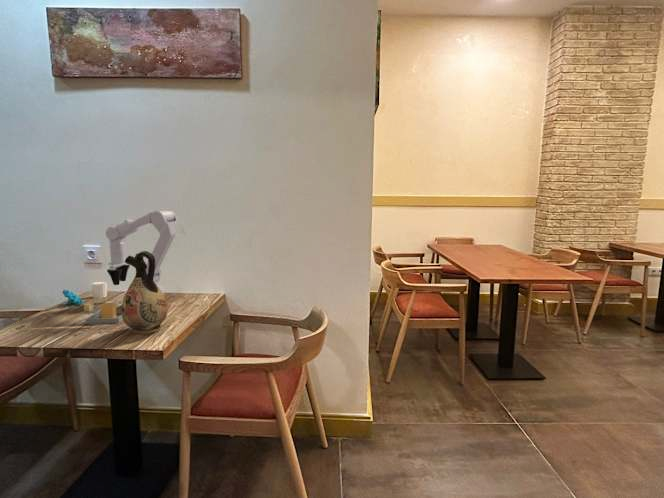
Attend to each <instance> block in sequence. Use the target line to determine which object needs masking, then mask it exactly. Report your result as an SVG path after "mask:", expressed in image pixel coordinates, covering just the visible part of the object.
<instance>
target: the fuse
mask: <svg viewBox="0 0 664 498" xmlns="http://www.w3.org/2000/svg"><path fill="white" fill-rule="evenodd" d="M116 306H117V303H116V302H112V303H106V302H103V303H102V304H100V305H99V307H100V309H101V315H100V318H118V317H117V315H118V314H116V310H117V308H116Z"/></svg>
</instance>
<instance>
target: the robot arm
mask: <svg viewBox="0 0 664 498" xmlns="http://www.w3.org/2000/svg"><path fill="white" fill-rule="evenodd" d="M177 222H178V218H177V216H176V214H175V212H174V211H172V209H167V210H155V211H153V212H149V213H146V214H145V215H143V216H141V217H139V218H137V219H135V220H133V219H129V218H128V219H124V221H123V222H122V223H117V224H116V225H115V226H109V227H107V228H106V231H105V236H106V238H107V239H108V241H109V253H110V262H108V266H109V268H108V269H107V270H106V272H107V273H108V274H109V277H110V278H111V281H112V284H113V286H119V285H120V282H125V281H127V275H128V271H129V268H130V267H131V265H129V264H127V263H125V260H126V252H125V251H126V249H125V242H126V238H127V236H130V235H131V234H134V233H136V232H138V229H139V228H140V227H143V226H145V225H148V224H152V225H153V226H154V228H155V229H156V231H157V232H158V233H159V234H160V235H159V237H158V239H157V241H156V243H155V245H154V248H153V250H152V252H151V254H152V255H153V256H154V257H155V272H154V277H153V281H154V283H156V285H157V286H158V287H159V289H160V290H161V291H162V293H163V295H164V294H165V293H164V287H163V286H162V285H159V281H160V279H161V273H162V269H161V265H162V264H163V261H164V259H165V257H166V255H167V253H168V251H169V248H170V247H171V245H172V243H173V240H174V238H175V236H176V224H177ZM146 265H147V269H146V272H147V275H148V268H149V262H148V261H147V262H146ZM164 296H165V295H164Z"/></svg>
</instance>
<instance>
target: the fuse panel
mask: <svg viewBox="0 0 664 498" xmlns="http://www.w3.org/2000/svg"><path fill="white" fill-rule="evenodd" d="M105 303H113V301H106V302H105ZM118 307H119V306H117V305H116V309H117V308H118ZM83 309H84V310H82V311H81V312H79V313H77V315H93V314H94V313H96V312H97V311H99V310H101V309H100V306H95V304H94V302H93V301H87V302H86V303H85V304H84V303H83Z"/></svg>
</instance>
